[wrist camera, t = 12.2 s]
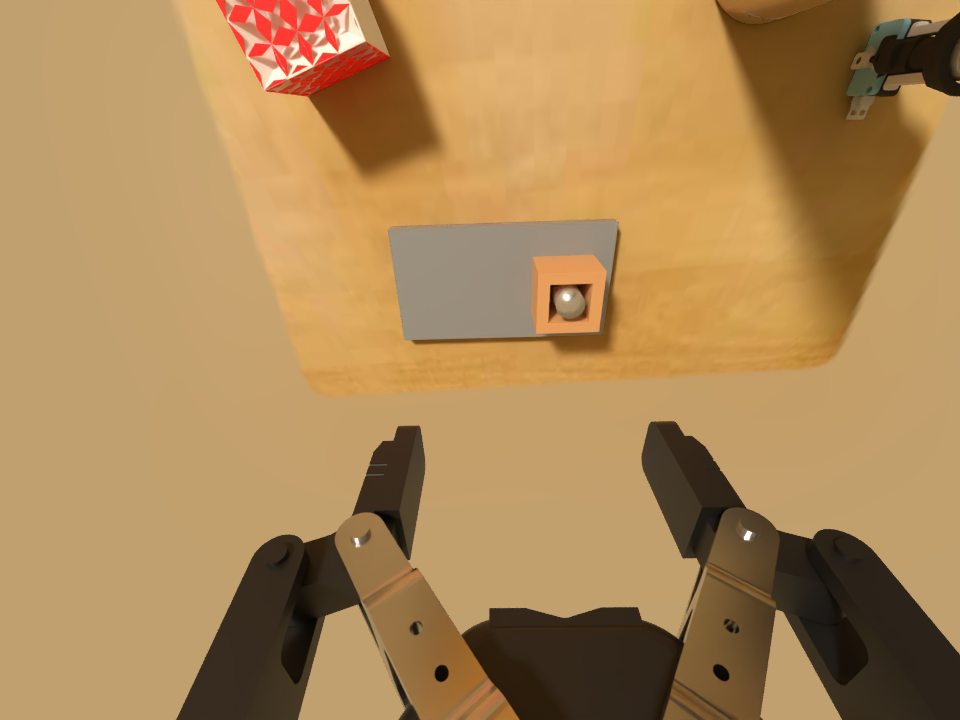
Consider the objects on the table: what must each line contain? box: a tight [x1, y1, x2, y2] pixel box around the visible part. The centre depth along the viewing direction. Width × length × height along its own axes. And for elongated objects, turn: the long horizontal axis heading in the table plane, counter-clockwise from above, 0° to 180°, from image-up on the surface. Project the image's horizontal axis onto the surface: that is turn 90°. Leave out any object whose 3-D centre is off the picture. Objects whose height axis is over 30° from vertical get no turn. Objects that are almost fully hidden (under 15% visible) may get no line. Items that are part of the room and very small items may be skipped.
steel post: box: [550, 284, 585, 319], centre depth 39 cm, size 3×3×7 cm
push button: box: [846, 12, 960, 120], centre depth 29 cm, size 7×5×10 cm
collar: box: [531, 255, 607, 334], centre depth 39 cm, size 6×6×5 cm
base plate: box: [388, 219, 619, 340], centre depth 42 cm, size 12×22×2 cm, turn 92°
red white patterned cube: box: [216, 0, 390, 96], centre depth 28 cm, size 8×8×8 cm
